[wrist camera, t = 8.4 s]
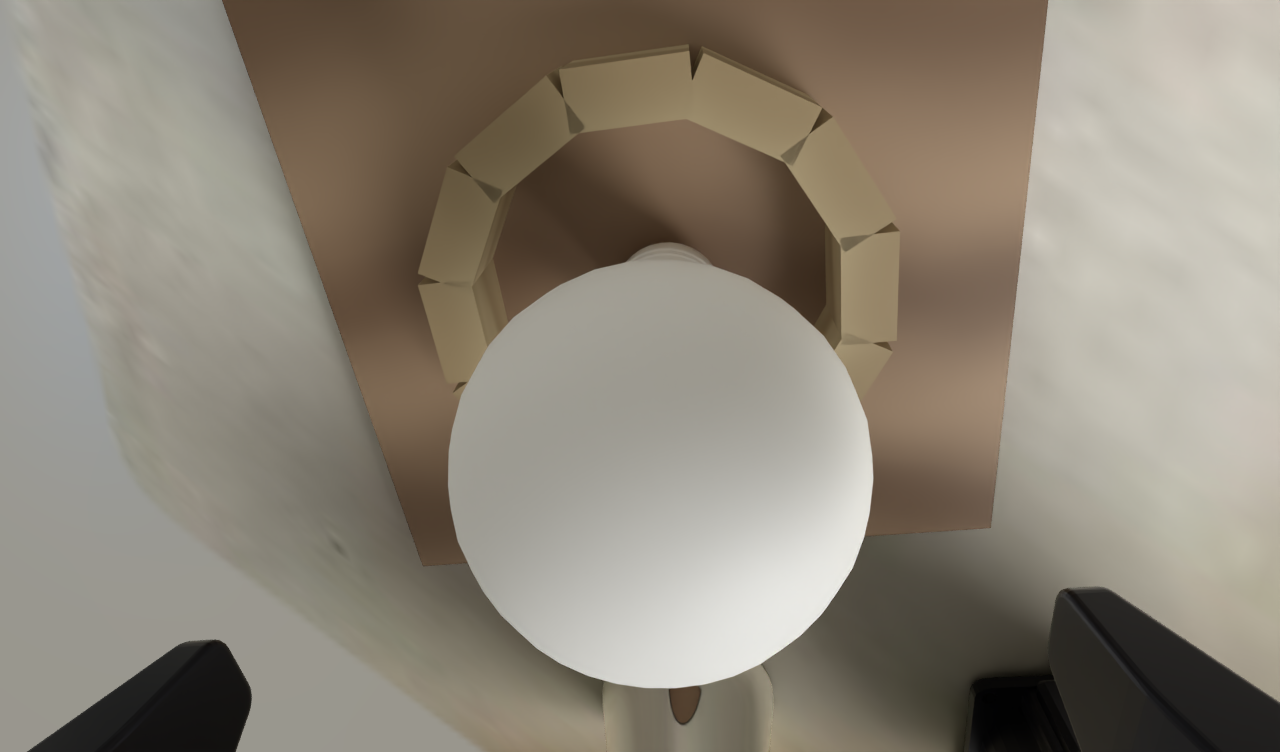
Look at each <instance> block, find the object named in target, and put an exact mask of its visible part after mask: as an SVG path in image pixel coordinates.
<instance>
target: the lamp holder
mask: <svg viewBox="0 0 1280 752" xmlns="http://www.w3.org/2000/svg"><path fill="white" fill-rule="evenodd" d="M222 1H223V4H224V7H225V10H226V13H227V16H228V18H229V21H230V24H231V27H232V30H233V32H234V35H235V38H236V41H237V44H238V47H239V49H240V52H241V55H242V58H243V61H244V63H245V66H246V69H247V72H248V75H249V78H250V80H251V83H252V86H253V89H254V92H255V94H256V97H257V100H258V103H259V106H260V109H261V111H262V114H263V117H264V120H265V123H266V125H267V128H268V131H269V134H270V137H271V140H272V142H273V145H274V148H275V151H276V154H277V156H278V159H279V162H280V165H281V168H282V170H283V173H284V176H285V179H286V182H287V185H288V187H289V190H290V193H291V196H292V199H293V201H294V204H295V207H296V210H297V213H298V216H299V218H300V221H301V224H302V227H303V230H304V232H305V235H306V238H307V241H308V244H309V247H310V249H311V252H312V255H313V258H314V261H315V263H316V266H317V269H318V272H319V275H320V278H321V280H322V283H323V286H324V289H325V292H326V294H327V297H328V300H329V303H330V306H331V309H332V311H333V314H334V317H335V320H336V323H337V325H338V328H339V331H340V334H341V337H342V340H343V342H344V345H345V348H346V351H347V354H348V356H349V359H350V362H351V365H352V368H353V370H354V373H355V376H356V379H357V382H358V385H359V387H360V390H361V393H362V396H363V399H364V401H365V404H366V407H367V410H368V413H369V416H370V418H371V421H372V424H373V427H374V430H375V432H376V435H377V438H378V441H379V444H380V447H381V449H382V452H383V455H384V458H385V461H386V463H387V466H388V469H389V472H390V475H391V478H392V480H393V483H394V486H395V489H396V492H397V494H398V497H399V500H400V503H401V506H402V509H403V511H404V514H405V517H406V520H407V523H408V525H409V528H410V531H411V534H412V537H413V539H414V542H415V545H416V548H417V551H418V554H419V556H420V559H421V562H422V565H423V566H432V565H447V564H462V563H468V562H467V560H466V558H465V556H464V554H463V551H462V549H461V547H460V545H459V543H458V540H457V536H456V531H455V526H454V522H453V517H452V513H451V507H450V498H449V490H448V460H449V446H450V440H451V433H452V428H453V424H454V420H455V417H456V413H457V409H458V405H459V402H460V398H461V395H462V393H463V391H464V389H465V387H466V385H467V384H468V382H469V380H470V378H471V376H472V374H473V372H474V371H475V369H476V367H477V365H478V363H479V361H480V360H481V358H482V356H483V354H484V353H485V351H486V349H487V347H488V346H489V344H490V343H491V342H492V341H493V340H494V339H495V338H496V336H497V335H498V334H499V333H500V332H501V331H502V330H503V329H504V327H505V326H506V325H507V324H508V323H509V322H510V321H511V320H512V318H513V317H515V316H516V315H517V314H519V313H520V312H521V311H523V310H524V309H526V308H527V307H528V306H530V305H531V304H533V303H534V302H535V301H537V300H538V299H539V298H541V297H542V296H544V295H545V294H546V293H548V292H549V291H551V290H553V289H554V288H556V287H557V286H559V285H561V284H563V283H565V282H568V281H570V280H572V279H574V278H577V277H579V276H581V275H583V274H585V273H588V272H590V271H592V270H595V269H599V268H603V267H608V266H612V265H616V264H621V263H625V262H626V261H627V260H628V259H629V258H630V257H631V256H632V255H633V254H635V253H636V252H638V251H639V250H641V249H643V248H645V247H647V246H649V245H653V244H657V243H667V242H672V243H679V244H683V245H686V246H689V247H692V248H693V249H695V250H697V251H698V252H700V253H701V254H702V255H704V256H705V257H706V258H707V259H708V260H709V261H710V263H711V264H712V266H714V267H717V268H720V269H723V270H726V271H728V272H731V273H734V274H737V275H740V276H742V277H745V278H748V279H750V280H751V281H753V282H755V283H756V284H758V285H760V286H761V287H763V288H765V289H766V290H768V291H770V292H771V293H773V294H775V295H776V296H778V297H780V298H781V299H783V300H784V301H785V302H787V303H788V304H789V305H790V306H792V307H793V308H794V309H795V310H796V311H797V312H799V313H800V314H801V315H802V316H803V317H804V318H805V319H806V320H807V321H808V322H809V323H810V324H812V325H813V326H814V327H815V328H816V329H817V330H818V331H819V332H820V333H821V334H822V335H824V337H825V338H826V340H827V341H828V343H829V344H830V345H831V347H832V348H833V350H834V351H835V353H836V354H837V356H838V357H839V358H840V360H841V361H842V363H843V364H844V366H845V367H846V369H847V372H848V374H849V376H850V378H851V381H852V383H853V385H854V388H855V390H856V393H857V395H858V398H859V400H860V403H861V405H862V408H863V411H864V413H865V416H866V418H867V421H868V429H869V436H870V443H871V451H872V462H873V487H872V496H871V505H870V514H869V518H868V522H867V527H866V531H865V535H864V536H879V535H893V534H908V533H923V532H938V531H953V530H968V529H983V528H991V520H992V511H993V502H994V493H995V483H996V474H997V465H998V456H999V447H1000V438H1001V428H1002V419H1003V410H1004V401H1005V392H1006V383H1007V373H1008V364H1009V355H1010V346H1011V337H1012V328H1013V318H1014V309H1015V300H1016V291H1017V282H1018V273H1019V263H1020V254H1021V245H1022V236H1023V227H1024V218H1025V208H1026V199H1027V190H1028V181H1029V172H1030V163H1031V153H1032V144H1033V135H1034V126H1035V117H1036V108H1037V98H1038V89H1039V80H1040V71H1041V62H1042V53H1043V43H1044V34H1045V25H1046V16H1047V7H1048V0H222Z"/></svg>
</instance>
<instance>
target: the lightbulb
mask: <svg viewBox="0 0 1280 752" xmlns="http://www.w3.org/2000/svg"><path fill="white" fill-rule="evenodd" d="M872 487H873V462H872V451H871V443H870V436H869V429H868V421H867V418H866V416H865V413H864V411H863V408H862V405H861V403H860V400H859V398H858V395H857V393H856V390H855V388H854V385H853V383H852V381H851V378H850V376H849V374H848V372H847V369H846V367H845V366H844V364H843V363H842V361H841V360H840V358H839V357H838V356H837V354H836V353H835V351H834V350H833V348H832V347H831V345H830V344H829V343H828V341H827V340H826V338H825V337H824V335H822V334H821V333H820V332H819V331H818V330H817V329H816V328H815V327H814V326H813V325H812V324H810V323H809V322H808V321H807V320H806V319H805V318H804V317H803V316H802V315H801V314H800V313H799V312H797V311H796V310H795V309H794V308H793V307H792V306H790V305H789V304H788V303H787V302H785V301H784V300H783V299H781V298H780V297H778V296H776V295H775V294H773V293H771V292H770V291H768V290H766V289H765V288H763V287H761V286H760V285H758V284H756V283H755V282H753V281H751V280H750V279H748V278H745V277H742V276H740V275H737V274H734V273H731V272H728V271H726V270H723V269H720V268H717V267H714V266H712V264H711V263H710V261H709V260H708V259H707V258H706V257H705V256H704V255H702V254H701V253H700V252H698V251H697V250H695V249H693V248H692V247H689V246H686V245H683V244H679V243H672V242H667V243H657V244H653V245H649V246H647V247H645V248H643V249H641V250H639V251H638V252H636V253H635V254H633V255H632V256H631V257H630V258H629V259H628V260H627V261H626V262H625V263H621V264H616V265H612V266H608V267H603V268H599V269H595V270H592V271H590V272H588V273H585V274H583V275H581V276H579V277H577V278H574V279H572V280H570V281H568V282H565V283H563V284H561V285H559V286H557V287H556V288H554V289H553V290H551V291H549V292H548V293H546V294H545V295H544V296H542V297H541V298H539V299H538V300H537V301H535V302H534V303H533V304H531V305H530V306H528V307H527V308H526V309H524V310H523V311H521V312H520V313H519V314H517V315H516V316H515V317H513V318H512V320H511V321H510V322H509V323H508V324H507V325H506V326H505V327H504V329H503V330H502V331H501V332H500V333H499V334H498V335H497V336H496V338H495V339H494V340H493V341H492V342H491V343H490V344H489V346H488V347H487V349H486V351H485V353H484V354H483V356H482V358H481V360H480V361H479V363H478V365H477V367H476V369H475V371H474V372H473V374H472V376H471V378H470V380H469V382H468V384H467V385H466V387H465V389H464V391H463V393H462V395H461V398H460V402H459V405H458V409H457V413H456V417H455V420H454V424H453V428H452V433H451V440H450V446H449V460H448V490H449V498H450V507H451V513H452V517H453V522H454V526H455V531H456V536H457V540H458V543H459V545H460V547H461V549H462V551H463V554H464V556H465V558H466V560H467V562H468V564H469V566H470V568H471V571H472V572H473V574H474V576H475V578H476V580H477V582H478V583H479V585H480V587H481V589H482V591H483V592H484V593H485V595H486V596H487V597H488V599H489V600H490V601H491V603H492V604H493V605H494V607H495V608H496V609H497V611H498V612H499V613H500V615H501V616H502V617H503V618H504V619H505V620H507V621H508V622H509V623H510V624H511V625H512V626H513V627H514V628H515V629H516V630H517V631H518V632H519V633H520V634H521V635H523V636H524V637H525V638H526V639H527V640H528V641H529V642H530V643H531V644H532V645H533V646H535V647H536V648H537V649H538V650H540V651H541V652H543V653H545V654H546V655H548V656H549V657H551V658H552V659H554V660H555V661H557V662H558V663H560V664H562V665H564V666H567V667H569V668H571V669H573V670H576V671H578V672H580V673H582V674H584V675H587V676H590V677H594V678H597V679H601V680H604V681H608V682H611V683H615V684H620V685H628V686H635V687H642V688H681V687H689V686H696V685H704V684H708V683H712V682H715V681H719V680H723V679H726V678H730V677H733V676H736V675H738V674H740V673H742V672H744V671H747V670H749V669H751V668H753V667H755V666H757V665H760V664H761V663H763V662H764V661H766V660H767V659H769V658H770V657H771V656H773V655H774V654H776V653H777V652H779V651H780V650H782V649H783V648H785V647H786V646H787V645H789V644H790V643H791V642H793V641H794V640H795V639H797V638H798V637H799V636H801V635H802V634H803V633H804V632H805V631H806V630H807V629H808V628H809V627H810V626H811V625H812V624H813V623H814V622H815V621H816V620H817V619H818V618H819V617H820V616H821V615H822V613H823V612H824V610H825V609H826V608H827V606H828V605H829V603H830V602H831V600H832V599H833V598H834V596H835V595H836V593H837V592H838V590H839V589H840V587H841V586H842V584H843V582H844V581H845V579H846V578H847V576H848V575H849V573H850V572H851V570H852V569H853V566H854V564H855V561H856V558H857V555H858V553H859V550H860V547H861V544H862V542H863V539H864V535H865V531H866V527H867V522H868V518H869V514H870V505H871V496H872Z"/></svg>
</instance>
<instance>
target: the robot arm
mask: <svg viewBox="0 0 1280 752" xmlns="http://www.w3.org/2000/svg"><path fill="white" fill-rule="evenodd" d="M1048 659H1049V664H1050V668H1051V671H1052V674H1053V675H1047V676H1025V677H1003V678H985V679H980V680H978V681H976V682H975V683H974V684H973V685H972V686H971V689H970V697H969V706H968V716H967V725H966V734H965V744H964V752H1280V702H1279V701H1277V700H1276V699H1274V698H1272V697H1271V696H1269V695H1268V694H1266V693H1265V692H1263V691H1262V690H1260V689H1259V688H1257V687H1256V686H1254V685H1253V684H1251V683H1250V682H1248V681H1247V680H1245V679H1244V678H1242V677H1241V676H1239V675H1238V674H1236V673H1235V672H1233V671H1232V670H1230V669H1229V668H1227V667H1226V666H1224V665H1223V664H1221V663H1220V662H1218V661H1217V660H1215V659H1214V658H1212V657H1211V656H1209V655H1208V654H1206V653H1205V652H1203V651H1202V650H1200V649H1199V648H1197V647H1196V646H1194V645H1193V644H1191V643H1190V642H1188V641H1187V640H1185V639H1184V638H1182V637H1181V636H1179V635H1178V634H1176V633H1175V632H1173V631H1172V630H1170V629H1169V628H1167V627H1166V626H1164V625H1163V624H1161V623H1160V622H1158V621H1157V620H1155V619H1154V618H1152V617H1151V616H1149V615H1148V614H1146V613H1145V612H1143V611H1142V610H1140V609H1139V608H1137V607H1136V606H1134V605H1133V604H1131V603H1130V602H1128V601H1126V600H1125V599H1123V598H1122V597H1120V596H1119V595H1117V594H1116V593H1114V592H1113V591H1111V590H1109V589H1106V588H1104V587H1082V588H1066V589H1063V590H1061V591H1060V592H1059V593H1058V595H1057V597H1056V600H1055V606H1054V612H1053V617H1052V623H1051V629H1050V635H1049V641H1048ZM251 697H252V694H251V689H250V686H249V684H248V682H247V680H246V678H245V676H244V675H243V673H242V671H241V669H240V667H239V666H238V664H237V662H236V660H235V659H234V657H233V655H232V653H231V651H230V650H229V648H228V647H227V646H226V644H225V643H223V642H222V641H220V640H200V641H188V642H185V643H182V644H180V645H178V646H176V647H175V648H173V649H172V650H170V651H169V652H168V653H166V654H165V655H163V656H162V657H161V658H159V659H158V660H156V661H155V662H153V663H152V664H151V665H149V666H148V667H146V668H145V669H143V670H142V671H141V672H139V673H138V674H136V675H135V676H134V677H132V678H131V679H129V680H128V681H127V682H125V683H124V684H123V685H121V686H119V687H118V688H117V689H115V690H114V691H112V692H111V693H110V694H108V695H107V696H105V697H104V698H102V699H101V700H100V701H98V702H97V703H95V704H94V705H93V706H91V707H90V708H88V709H87V710H86V711H84V712H83V713H81V714H80V715H78V716H77V717H76V718H74V719H73V720H71V721H70V722H69V723H67V724H66V725H64V726H63V727H61V728H60V729H59V730H57V731H56V732H55V733H53V734H51V735H50V736H49V737H47V738H46V739H44V740H43V741H42V742H40V743H39V744H37V745H36V746H34V747H33V748H32V749H30V750H29V751H27V752H236V749H237V746H238V743H239V741H240V738H241V735H242V732H243V729H244V726H245V723H246V720H247V717H248V715H249V711H250V708H251V700H252V698H251Z"/></svg>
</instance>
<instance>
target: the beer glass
mask: <svg viewBox="0 0 1280 752" xmlns="http://www.w3.org/2000/svg"><path fill="white" fill-rule="evenodd" d="M602 703H603V717H604V727H605V738H606V752H770V742H771V730H772V719H773V704H774V698H773V688H772V684H771V681H770V678H769V676H768V674H767V672H766V670H765V669H764V667H763V666H762V665H761V664H760V665H757V666H755V667H753V668H751V669H749V670H747V671H744V672H742V673H740V674H738V675H736V676H733V677H730V678H726V679H723V680H719V681H715V682H712V683H708V684H704V685H696V686H689V687H681V688H642V687H635V686H628V685H620V684H615V683H611V682H608V681H604V683H603V692H602Z"/></svg>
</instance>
